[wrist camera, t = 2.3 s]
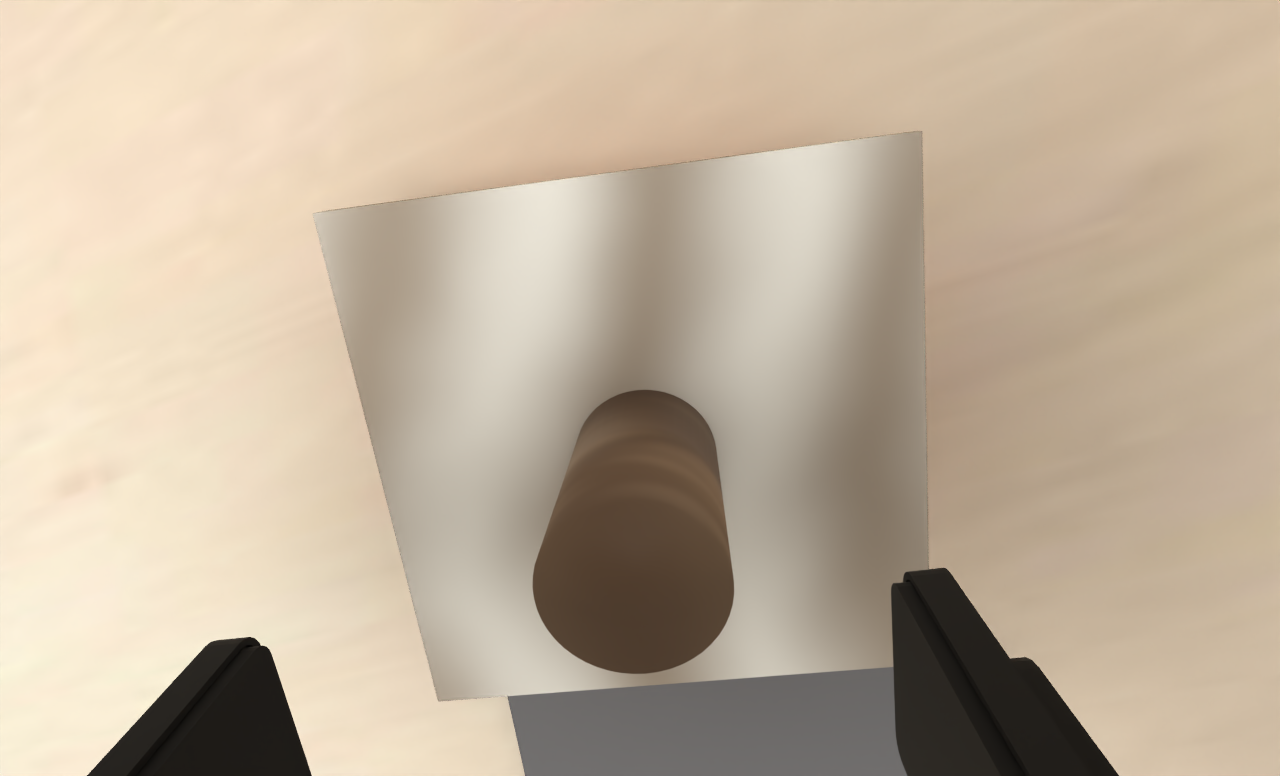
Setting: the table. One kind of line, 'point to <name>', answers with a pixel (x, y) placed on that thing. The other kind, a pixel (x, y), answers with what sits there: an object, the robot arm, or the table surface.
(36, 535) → the table surface
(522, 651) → the lid
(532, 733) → the mat
